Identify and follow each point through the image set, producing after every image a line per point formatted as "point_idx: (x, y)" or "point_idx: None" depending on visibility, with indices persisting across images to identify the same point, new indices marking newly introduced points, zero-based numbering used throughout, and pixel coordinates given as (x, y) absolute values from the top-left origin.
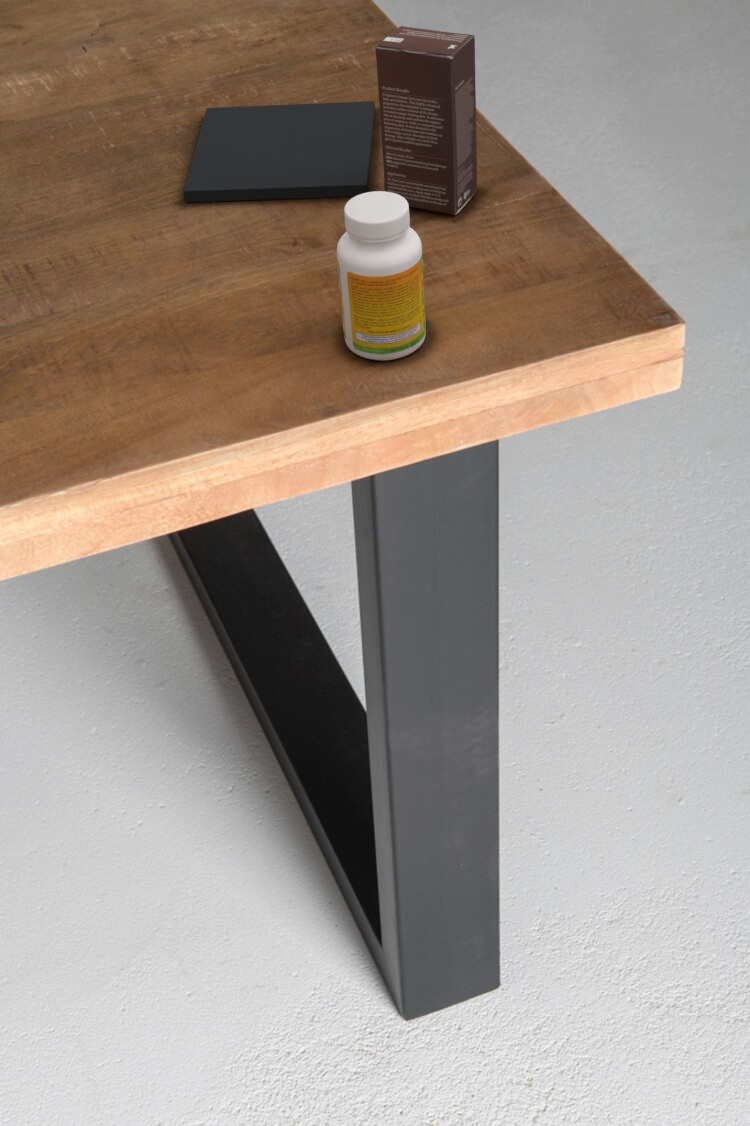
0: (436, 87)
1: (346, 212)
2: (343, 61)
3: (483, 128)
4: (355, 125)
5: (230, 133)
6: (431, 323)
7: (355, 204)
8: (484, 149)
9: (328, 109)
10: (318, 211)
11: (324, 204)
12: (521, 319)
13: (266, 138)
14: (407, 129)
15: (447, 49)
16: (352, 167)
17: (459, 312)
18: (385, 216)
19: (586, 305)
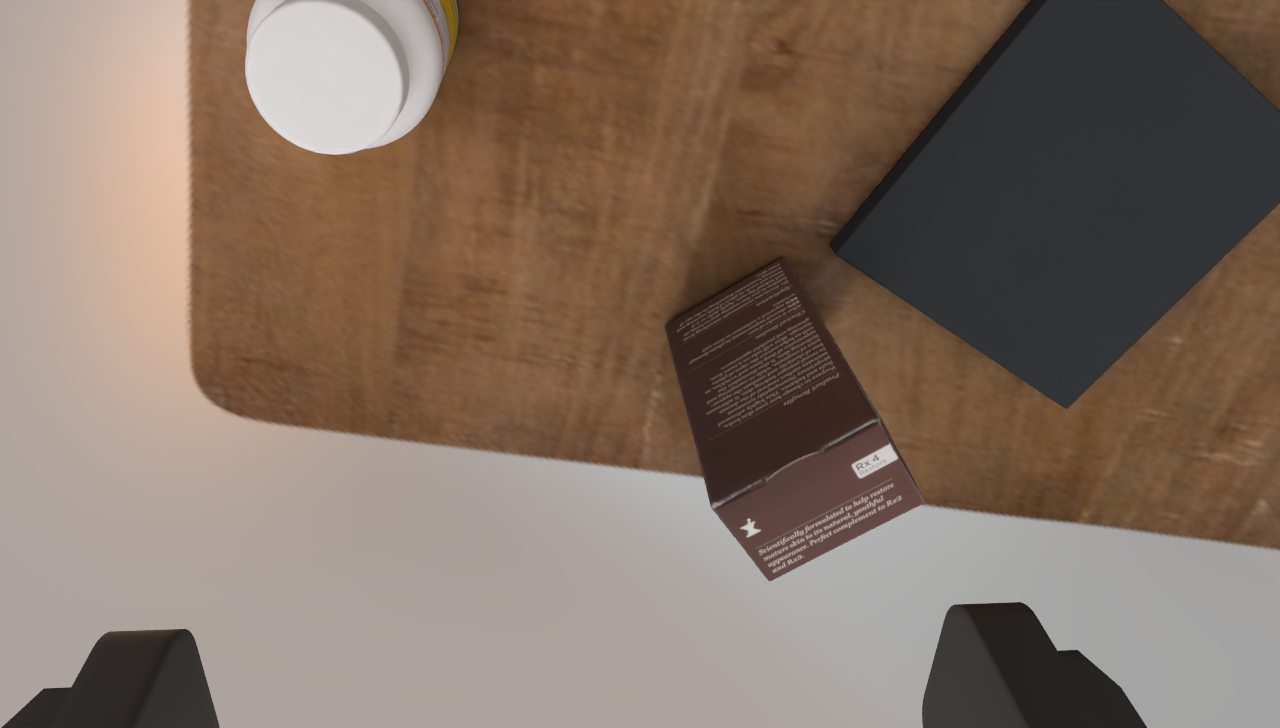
0: (730, 445)
1: (331, 5)
2: (1245, 444)
3: None
4: (1024, 343)
5: (1201, 144)
6: None
7: (359, 45)
8: None
9: (1111, 335)
10: (851, 146)
11: (864, 168)
12: (319, 242)
13: (1124, 191)
14: (770, 357)
15: (746, 516)
16: (905, 264)
17: (393, 171)
18: (267, 73)
19: (304, 343)
